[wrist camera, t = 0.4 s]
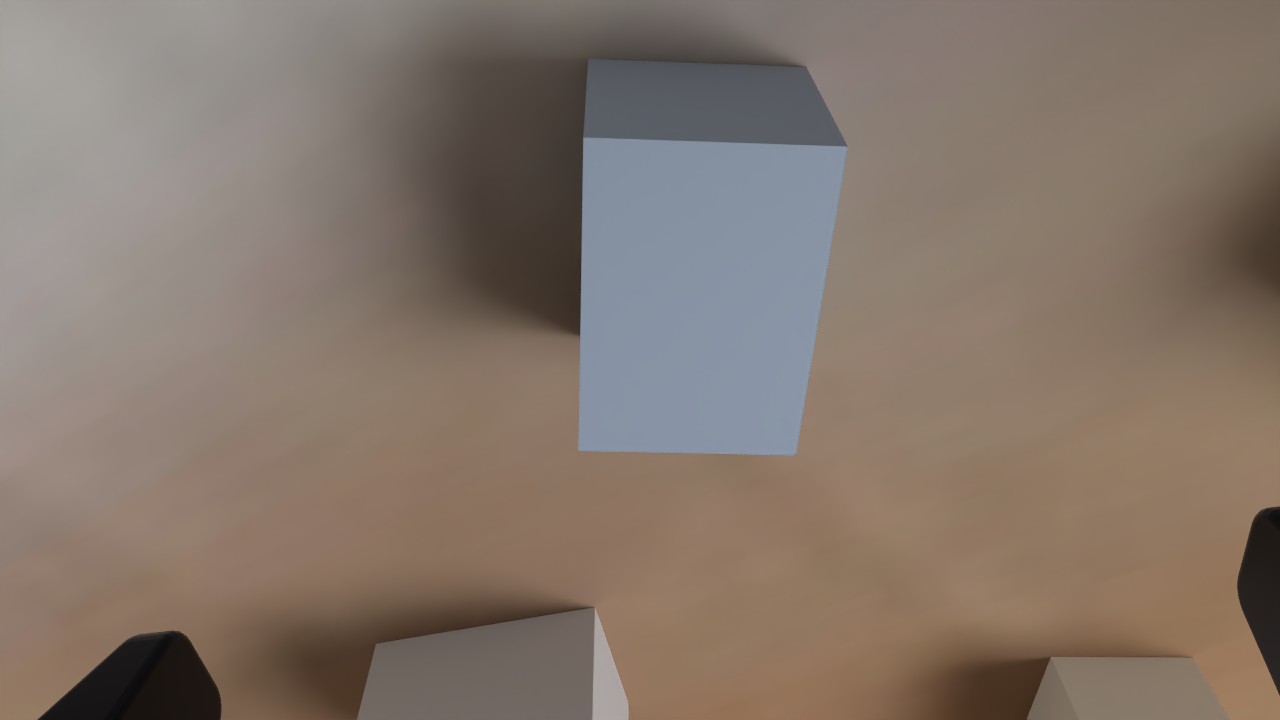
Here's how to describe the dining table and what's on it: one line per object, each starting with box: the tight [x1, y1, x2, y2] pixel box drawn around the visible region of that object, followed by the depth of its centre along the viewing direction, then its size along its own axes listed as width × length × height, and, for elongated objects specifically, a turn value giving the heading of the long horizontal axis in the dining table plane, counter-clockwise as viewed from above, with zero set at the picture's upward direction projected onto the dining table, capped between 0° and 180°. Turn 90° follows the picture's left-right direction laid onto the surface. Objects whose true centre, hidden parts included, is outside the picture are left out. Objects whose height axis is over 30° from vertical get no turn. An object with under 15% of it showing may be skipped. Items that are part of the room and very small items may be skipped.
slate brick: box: [579, 59, 848, 455], centre depth 18 cm, size 6×4×4 cm, turn 177°
